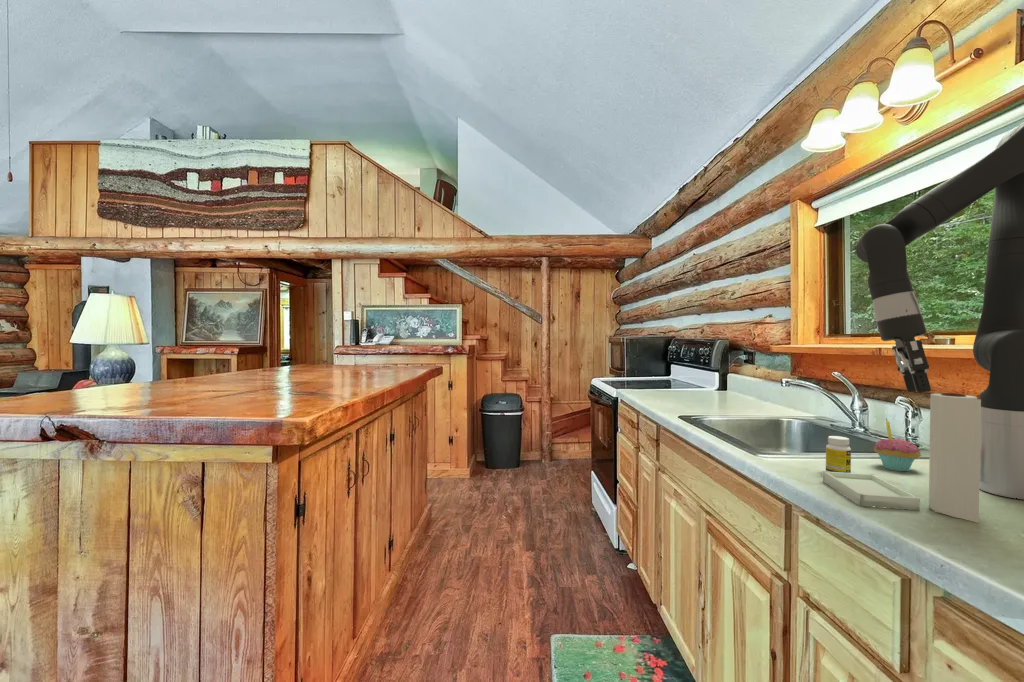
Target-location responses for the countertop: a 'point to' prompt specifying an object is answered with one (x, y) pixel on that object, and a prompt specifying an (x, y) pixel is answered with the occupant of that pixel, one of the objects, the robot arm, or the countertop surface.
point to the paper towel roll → (955, 455)
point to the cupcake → (896, 452)
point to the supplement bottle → (838, 455)
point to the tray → (871, 490)
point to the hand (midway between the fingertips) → (918, 391)
